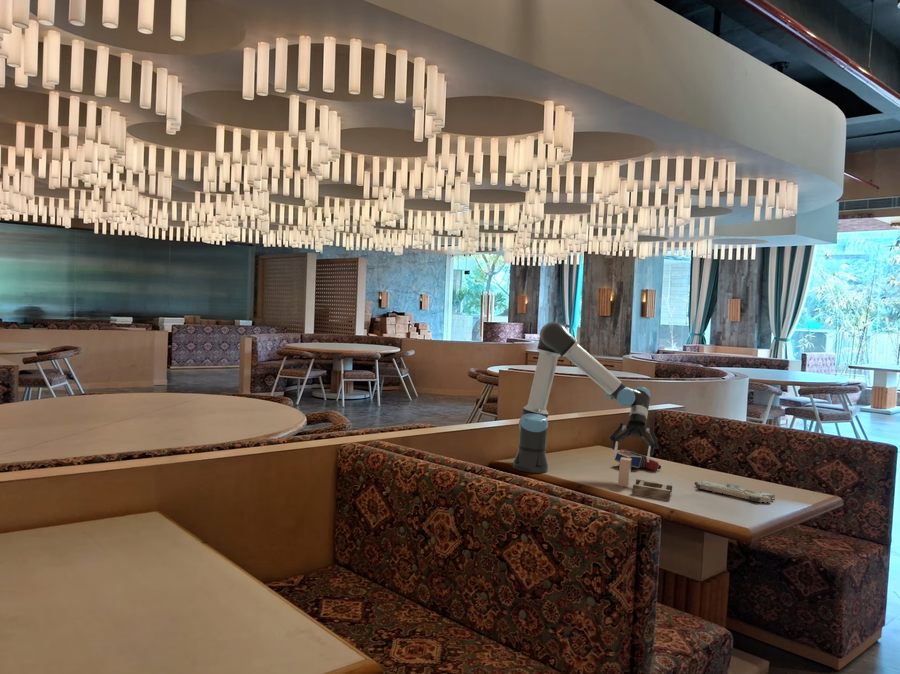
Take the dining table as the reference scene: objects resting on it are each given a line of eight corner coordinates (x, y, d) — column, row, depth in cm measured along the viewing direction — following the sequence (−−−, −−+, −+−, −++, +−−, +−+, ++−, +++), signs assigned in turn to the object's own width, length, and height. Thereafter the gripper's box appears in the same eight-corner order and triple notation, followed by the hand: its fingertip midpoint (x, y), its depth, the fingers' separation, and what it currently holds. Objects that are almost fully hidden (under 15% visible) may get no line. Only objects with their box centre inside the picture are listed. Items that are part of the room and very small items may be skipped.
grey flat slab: (706, 484, 297) (690, 488, 282) (707, 477, 297) (691, 481, 282) (779, 501, 278) (766, 506, 263) (780, 493, 278) (767, 498, 263)
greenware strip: (617, 485, 276) (620, 459, 276) (619, 483, 281) (621, 457, 281) (627, 487, 275) (630, 460, 275) (629, 484, 280) (631, 458, 279)
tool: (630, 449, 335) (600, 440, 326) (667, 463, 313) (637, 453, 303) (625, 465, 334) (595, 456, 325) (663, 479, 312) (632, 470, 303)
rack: (632, 494, 264) (632, 485, 264) (635, 487, 275) (636, 479, 275) (669, 500, 259) (670, 491, 259) (671, 493, 270) (672, 484, 270)
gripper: (667, 427, 294) (662, 467, 281) (609, 419, 303) (601, 458, 290) (667, 416, 289) (662, 457, 276) (608, 409, 298) (600, 448, 285)
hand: (631, 458), depth 283 cm, fingers open, 13 cm apart
